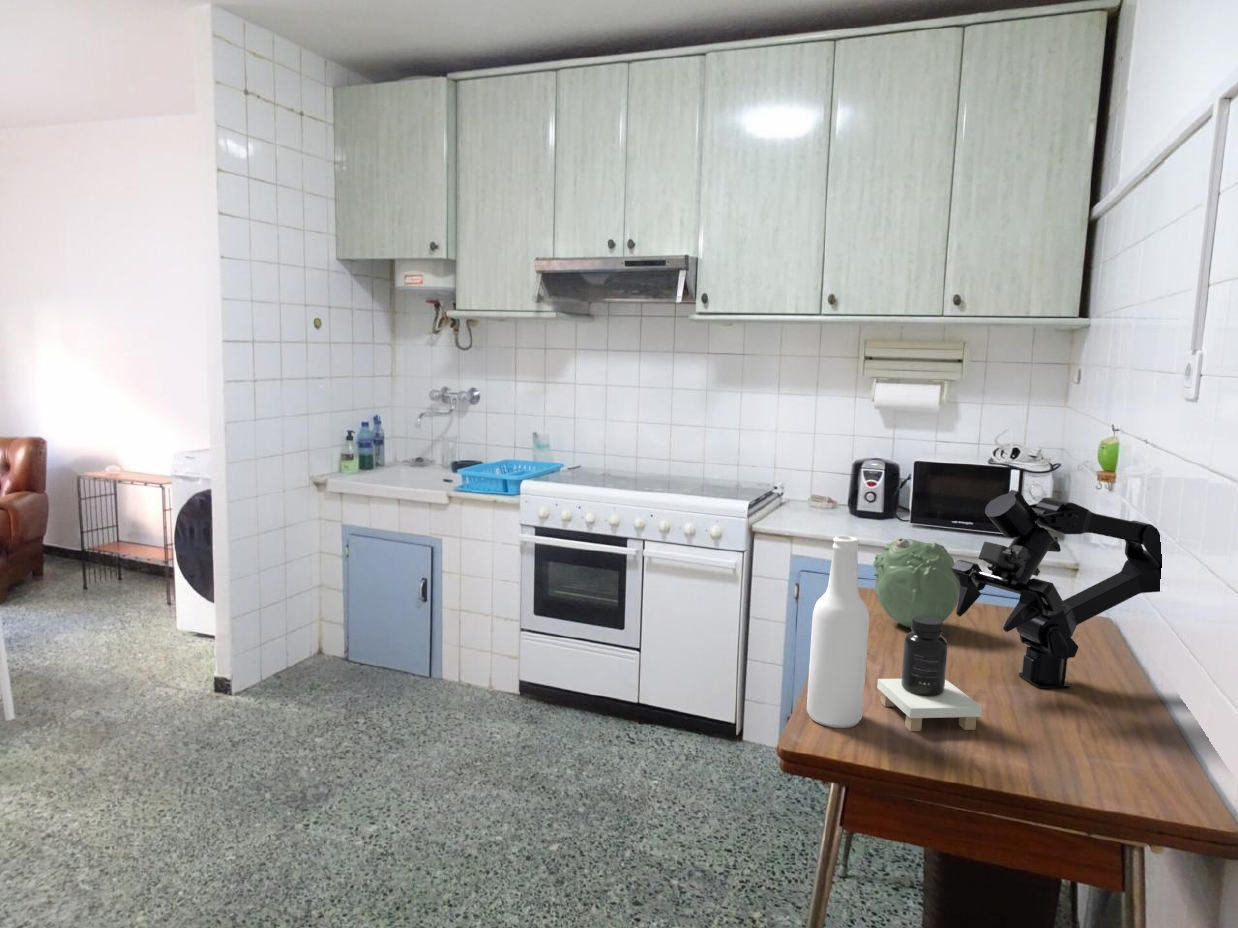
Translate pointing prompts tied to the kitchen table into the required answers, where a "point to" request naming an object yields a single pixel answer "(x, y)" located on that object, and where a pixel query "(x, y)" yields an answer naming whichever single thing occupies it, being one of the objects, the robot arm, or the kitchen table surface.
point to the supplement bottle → (924, 657)
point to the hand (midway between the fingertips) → (980, 622)
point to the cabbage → (915, 581)
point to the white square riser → (929, 704)
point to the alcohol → (839, 643)
